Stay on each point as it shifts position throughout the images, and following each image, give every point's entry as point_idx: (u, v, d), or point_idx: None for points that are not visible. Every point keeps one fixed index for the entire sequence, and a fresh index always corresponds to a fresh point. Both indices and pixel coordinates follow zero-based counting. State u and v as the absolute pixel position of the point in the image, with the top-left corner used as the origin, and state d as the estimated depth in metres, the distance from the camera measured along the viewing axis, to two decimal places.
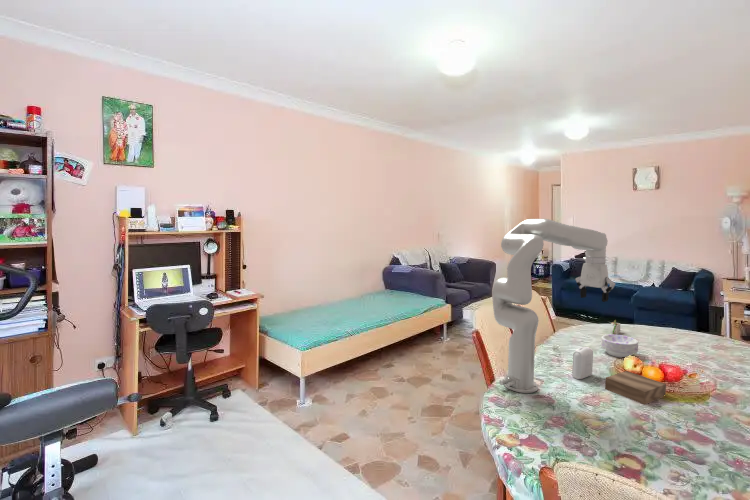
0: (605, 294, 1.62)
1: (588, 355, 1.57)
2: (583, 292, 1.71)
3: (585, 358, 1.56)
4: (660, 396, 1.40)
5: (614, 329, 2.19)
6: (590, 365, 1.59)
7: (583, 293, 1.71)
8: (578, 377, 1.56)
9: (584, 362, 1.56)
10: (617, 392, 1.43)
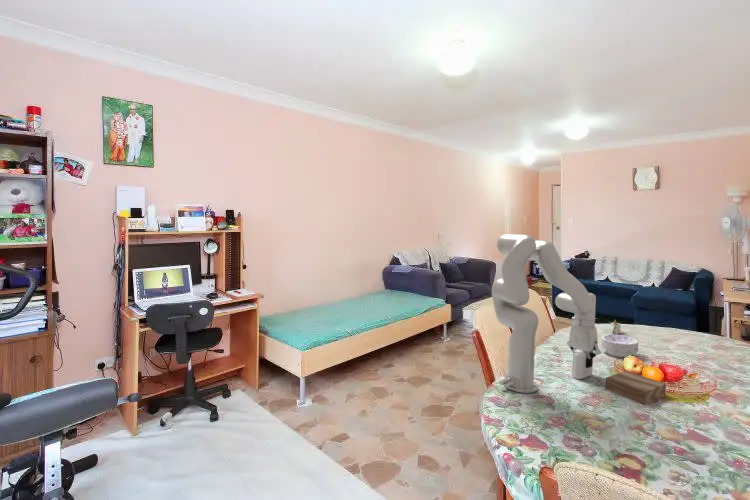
0: (589, 360, 1.56)
1: None
2: None
3: (585, 358, 1.56)
4: (660, 396, 1.40)
5: (614, 329, 2.20)
6: None
7: None
8: (578, 376, 1.56)
9: (584, 362, 1.56)
10: (617, 392, 1.43)
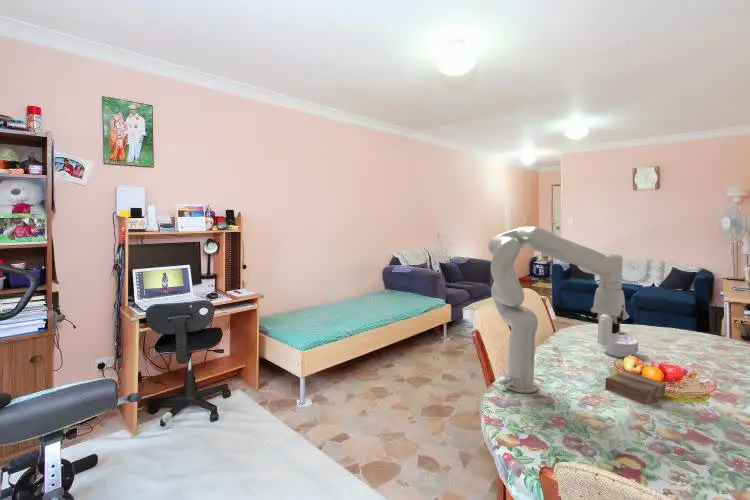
0: (616, 325, 1.47)
1: None
2: None
3: (611, 323, 1.47)
4: (660, 396, 1.40)
5: None
6: None
7: None
8: (605, 343, 1.47)
9: (610, 328, 1.47)
10: (618, 392, 1.43)
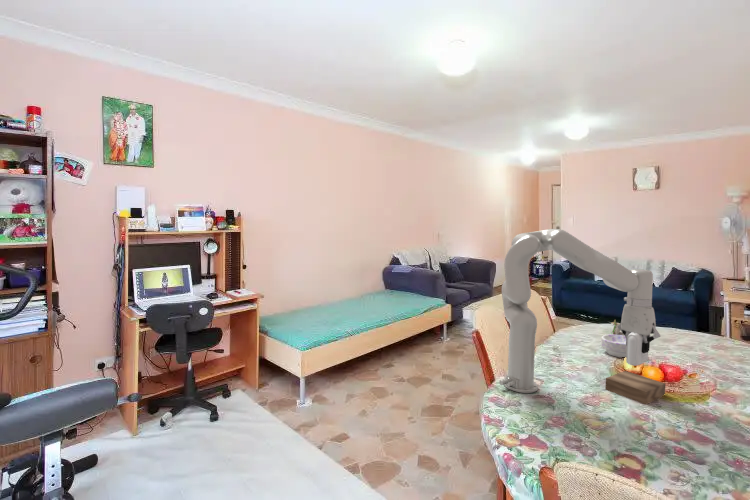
0: (646, 344, 1.39)
1: None
2: None
3: (641, 342, 1.40)
4: (660, 396, 1.40)
5: (614, 329, 2.20)
6: None
7: None
8: (634, 363, 1.40)
9: (640, 347, 1.39)
10: (618, 392, 1.43)
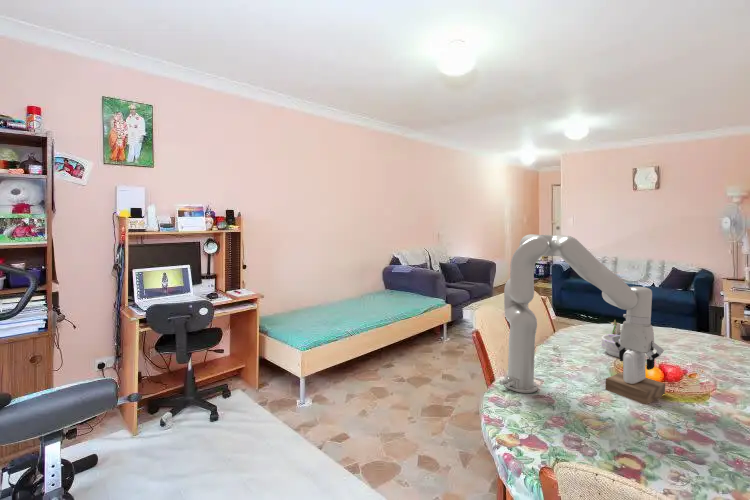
0: (651, 361, 1.38)
1: (640, 357, 1.42)
2: None
3: (637, 360, 1.41)
4: (660, 396, 1.40)
5: (614, 329, 2.20)
6: (643, 368, 1.43)
7: None
8: (631, 381, 1.41)
9: (636, 365, 1.40)
10: (618, 393, 1.43)
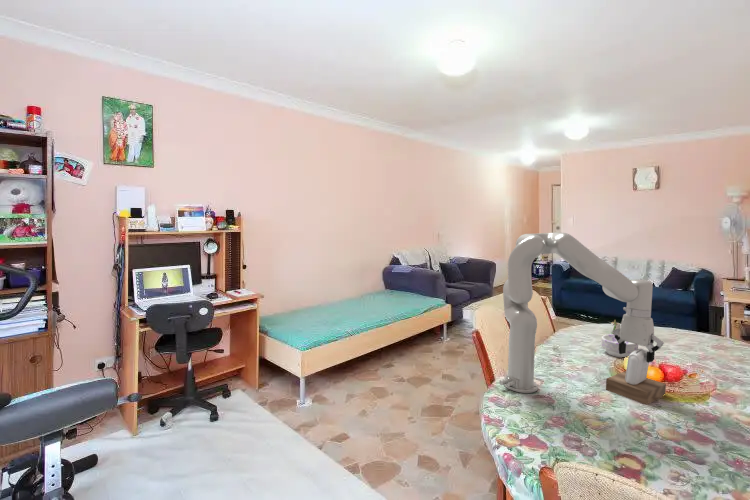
0: (651, 354, 1.38)
1: (645, 359, 1.40)
2: (622, 348, 1.47)
3: (642, 362, 1.39)
4: (660, 396, 1.40)
5: (614, 329, 2.20)
6: (646, 369, 1.42)
7: (622, 349, 1.47)
8: (632, 382, 1.40)
9: (640, 367, 1.39)
10: (618, 393, 1.42)
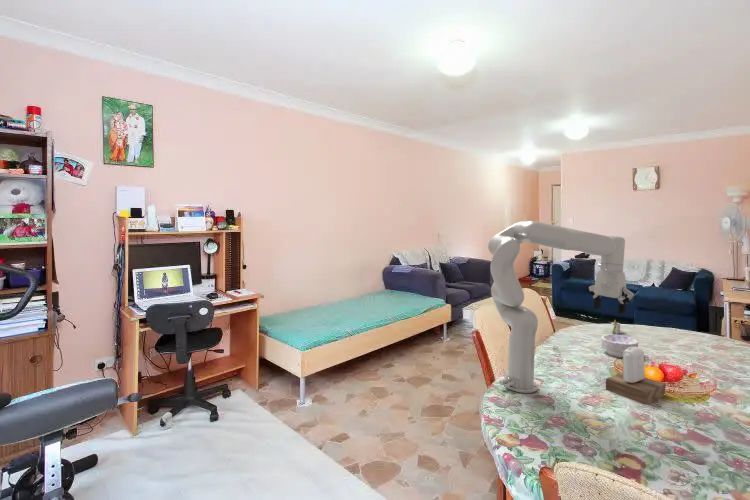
0: (622, 305, 1.44)
1: (639, 356, 1.43)
2: (597, 302, 1.53)
3: (636, 358, 1.41)
4: (660, 396, 1.40)
5: (614, 329, 2.20)
6: (642, 367, 1.44)
7: (597, 303, 1.54)
8: (631, 380, 1.40)
9: (636, 363, 1.41)
10: (618, 393, 1.42)
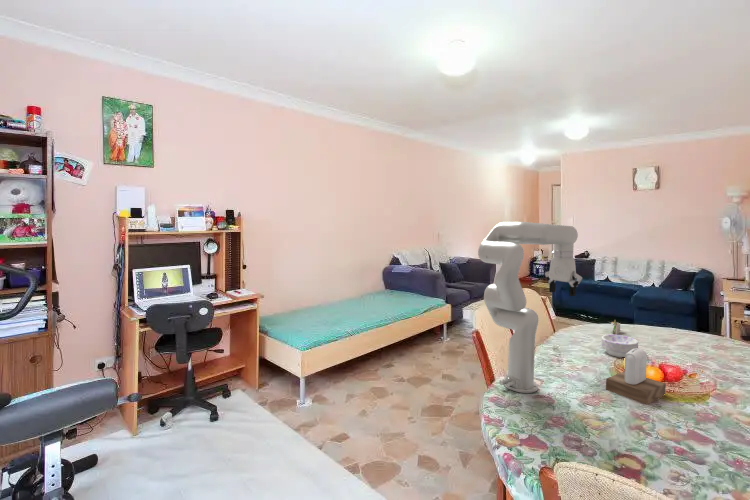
0: (572, 288, 1.60)
1: (642, 358, 1.41)
2: (552, 287, 1.69)
3: (639, 361, 1.40)
4: (660, 396, 1.40)
5: (614, 329, 2.20)
6: (644, 369, 1.43)
7: (552, 288, 1.69)
8: (632, 382, 1.40)
9: (638, 366, 1.40)
10: (618, 393, 1.42)
